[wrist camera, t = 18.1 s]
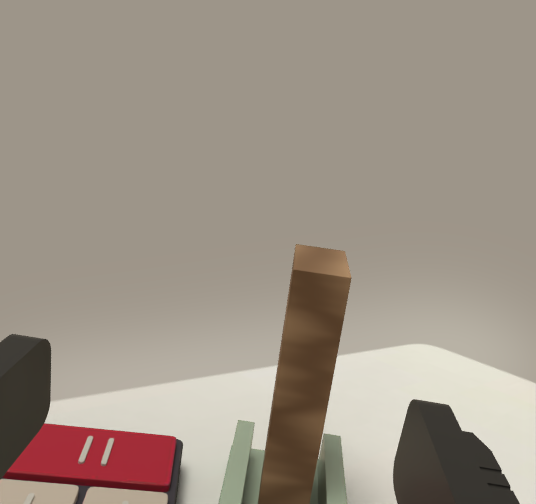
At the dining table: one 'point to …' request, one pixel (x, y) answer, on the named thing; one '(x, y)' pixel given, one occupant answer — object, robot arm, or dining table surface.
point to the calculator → (94, 468)
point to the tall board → (304, 373)
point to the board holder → (251, 463)
